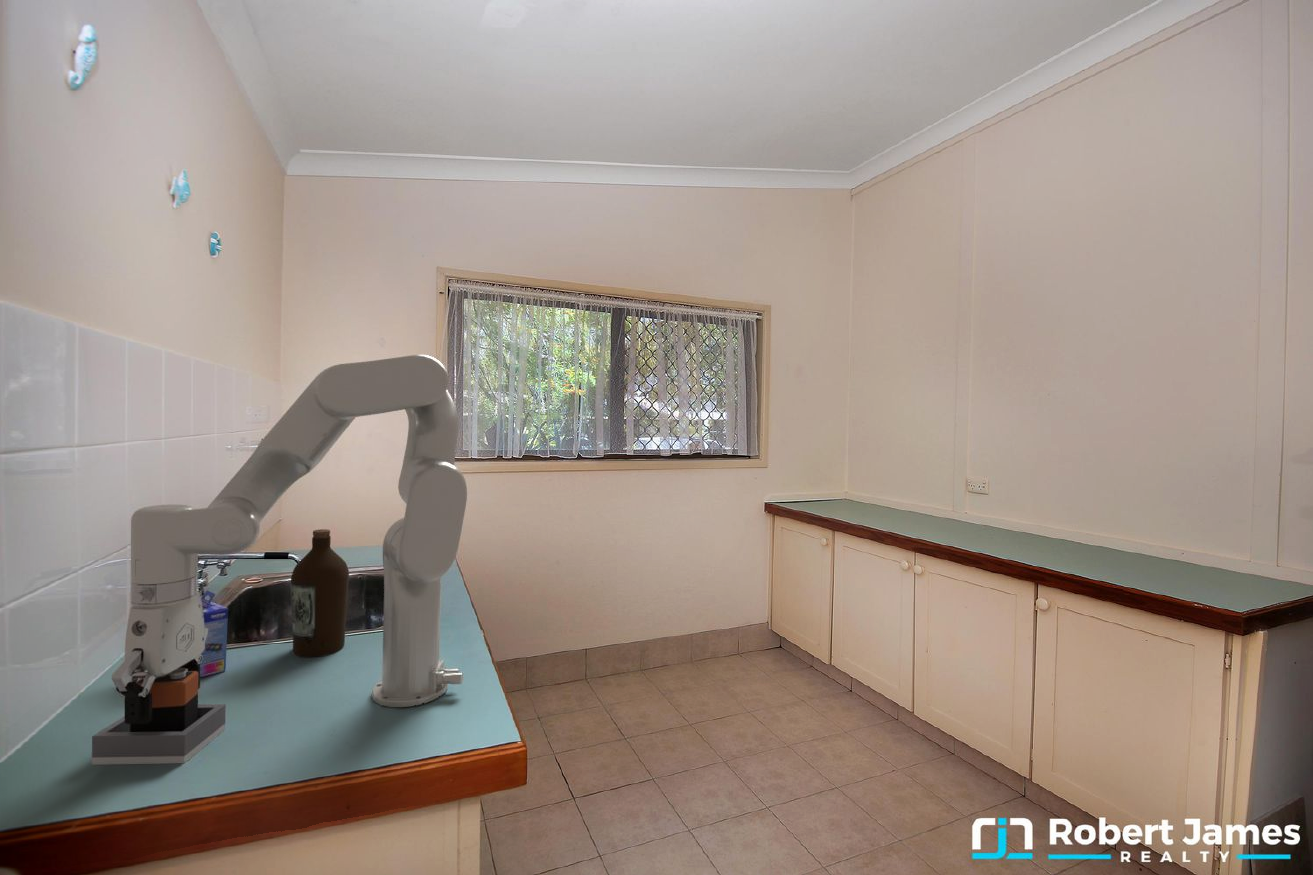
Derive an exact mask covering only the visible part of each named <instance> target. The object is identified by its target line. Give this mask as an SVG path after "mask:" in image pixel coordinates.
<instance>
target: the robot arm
mask: <svg viewBox="0 0 1313 875" xmlns="http://www.w3.org/2000/svg"><path fill="white" fill-rule="evenodd" d="M449 382H450V379H449V373H448V370H447V369H446V367H445V365H443V363H442V362H440V361H439V360H438V359H436V358H434V357H433V356H431V355H430V356H429V355H427V354H413V355H406V356H399V357H391V358H390V357H389V358H384V359H376V360H369V361H359V362H348V363H347V362H346V363H339V364H334V365H332V366H329V367H327V368H325V369H323V370H321V372H320V373H319V374H317V375H316V376H315V378H314V379H313V380H312V381H311V382H310V383H309V384H308V386H307V387H306V388H305V389H304V390H303V391H302V393H301V394H300V395H299V396H298V397H297V399H296V400H295V401H294V402H293V403H292V405H291V406H290V407H289V408H288V409H287V411H285V413H284V414H283V415H282V416H281V418H280V419H279V420H278V421H277V422H276V423H275V425H273V427H271V429H270V430H269V431H268V433H267V434H266V435H265V436H264V437H263V438H262V440H261V441H260V442H259V443H258V445H257V447H256V448H255V450H254V451H253V453H252V454H251V456H250V457H249V458H248V459H247V460H246V461H245V463H244V464H242V466H241V467H240V469H239V470H238V471H236V473H235V475H234V476H233V477H232V478H231V479H230V480H229V482H228V483H227V484H225V486H224V487H223V488H222V490H220V492H219V493H218V494H217V496H216V497H215V498H214V499H213V500H212V501H211V503H210V504H209V505H208V506H207V507H203V508H194V506H191V505H187V504H160V505H159V504H158V505H150V506H144V507H141V508H139V509H136V510H135V511H134V512H133V514H132V515H131V519H130V606H131V607H130V609H129V613H128V619H127V625H126V632H125V639H124V640H125V641H124V659H123V660H124V661H123V662H122V663H121V664H120V665H119V667H118V668H117V669H116V670H115V671H114V672H113V673H112V675H111V681H112V682H113V684H114V686H115V691H116V692H117V693H119V694H120V697H121V698H124V716H125V723H126V724H147V723H149V722H150V721H152V693H148V692H149V690H150V688H151V686H152V684H153V682H154V680H155V677H163V676H166V675H168V674H169V673H171V672H173V671H175V670H176V669H179V668H185V669H188V671H197V672H198V690H200V688H201V678H200V664H198V663H201V662H202V659H203V656H202V655H201V654H202V652H203V651H204V649H205V646H206V645H205V641H206V638H207V634H208V629H207V628H204V615H203V607H202V602H201V598H202V597H201V595H200V592H199V591H198V589H199V588H198V571H199V570H198V569H199V568H198V566H199V559H198V558H199V555H215V556H226V555H235V554H238V553H241V552H244V551H245V550H247V549H249V548H250V547H251V546H252V545H253V544H254V543H255V542H256V541H257V539H258V537H259V534H260V526H261V525H260V523H261V522H262V521H263V519H264V518H265V516H266V515H268V513H269V512H270V511H271V509H272V508H273V506H275V504H276V503H277V501H278V500H279V499H280V498H282V496H283V494H285V493H286V492H287V490H288V489H290V488H291V487H292V485H293V484H295V482H297V481H298V480H299V479H300V478H303V477H305V476H306V475H307V474H309V473H311V471H312V470H314V469H315V468H316V467H317V466H318V465H319V464H320V463H321V461H322V460H323V459H324V458H325V456H326V455H327V453H328V452H329V451H330V450H331V448H332V447H333V446H334V444H336V442H337V441H338V440H339V438H340V437H341V436H342V435H343V434H344V432H345V431H346V430H347V429H348V427H350V425H351V424H352V423H353V421H355V419H356V418H359V417H365V416H372V415H380V414H385V413H386V414H387V413H391V412H397V411H398V412H399V411H403V410H405V412H406V415H407V421H408V428H407V429H408V430H407V438H406V444H405V446H406V447H405V451H404V457H403V460H402V467H401V470H400V471H401V472H400V475H399V479H398V485H397V488H398V494H399V496H400V498H401V499H402V501H403V502H404V503H405V504H406V506H405V511H404V517H402V518H400V519H398V520H397V521H395V522H394V523H393V524H392V525H391V526H390V527H389V528H388V530H387V531H386V533H385V535H384V537H383V538H384V539H383V543H382V567H383V585H384V586H383V589H384V590H383V592H384V593H383V596H384V597H383V623H382V624H383V630H382V632H383V633H382V670H381V671H382V673H381V674H382V675H381V676H382V677H381V680H380V681H378V682H377V683H376V684H375V685H374V686H373V687H372V689H371V698H372V700H373V701H374V702H375V703H376V704H378V705H381V706H383V707H384V706H385V707H389V708H409V707H410V708H411V707H416V706H420V705H423V704H422V703H424V704H427V703H430V702H431V701H434V700H437V699H438V698H440V697H441V696H443V694H445V692H446V691H447V690H446V689H448V685H462V684H463V680H464V673H462V672H460V669H459V668H447V667H444V666H445V660H444V659H441V660H440V653H441V652H440V650H441V649H440V648H441V644H440V643H441V615H442V614H441V612H442V607H441V606H442V577H443V576H445V575H446V574H447V573H448V572H449V571H450V569H451V568H452V566H453V565H454V562H455V560H456V558H457V554H458V549H459V545H460V539H461V534H462V530H463V524H464V518H465V512H466V505H467V502H468V501H467V500H468V488H467V483H466V478H465V476H464V474H463V472H461V470H460V469H459V468H458V467H456V466H455V459H456V454H457V447H458V446H457V444H458V437H459V426H460V425H459V423H460V422H459V414H458V410H457V407H456V405H455V402H454V400H453V399H454V398H452V396H451V394H450V391H448V388H449V384H450V383H449ZM142 678H145V679H144V681H143V684H142V686H140V685H139V684H137V683H136V682H137V681H139V679H142ZM439 696H440V697H439ZM415 705H416V706H415Z"/></svg>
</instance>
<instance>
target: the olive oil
mask: <svg viewBox="0 0 1313 875" xmlns="http://www.w3.org/2000/svg"><path fill="white" fill-rule="evenodd" d="M330 534H331V530H330V529H326V528H325V529H314V530H313V531H312V538H311V543H312V544H311V549H310V551H309V552H307V553H306V555H305V556H304V557H302V559H300V560H299V562H297V564H296V565H295V567H294V568H293V571H292V573H291V576H290V577H291V578H290V593H291V594H290V595H291V596H290V597H291V615H292V616H291V619H292V620H291V621H292V652H293V654H294V655H295V656H298V657H304V658H316V657H322V656H326V655H327V656H328V655H331V654H334V653H337V652H339V651H340V650H341V649H343V648H344V647H345V639H346V625H347V624H346V620H347V610H348V609H347V608H348V596H349V595H348V594H349V585H350V584H349V583H350V582H349V581H350V571H349V567H348V565H347V564H348V563H347V562H346V561H345V560H344V559H343V558H342V557H341V556H340V555H339V554H337V553H336V551H334V550H333V549H332V548H331V541H332V540H331V535H330Z"/></svg>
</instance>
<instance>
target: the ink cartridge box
mask: <svg viewBox="0 0 1313 875" xmlns="http://www.w3.org/2000/svg"><path fill="white" fill-rule="evenodd" d="M215 595H216V593H215V592H211V591H210V590H205V592H204V594H203V595H202V597H200V598H201V602H202V607H203V615H204V628H207V629H208V634H207V638H206V641H205V645H206V646H205V649H204V651H203V652H202V654H201V655H202V656H203V659H202V662H201V663H198V664H200V679H201V678H203V677H207V676H212V675H215V674H218V673H223V672H226V671H227V669H226V668H227V667H226V666H227V646H228V645H227V642H228V641H227V638H228V619H229V618H228V617H229V607H227V606H223V605H222V604H218V603H216V602H213V599H214V598H215ZM207 596H209V599H207V598H206V597H207Z"/></svg>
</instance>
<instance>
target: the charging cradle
mask: <svg viewBox="0 0 1313 875" xmlns="http://www.w3.org/2000/svg"><path fill="white" fill-rule="evenodd" d="M226 709H227V708H226V704H225V703H222V704H217V703H215V704H214V703H213V704H211V703H210V704H209V703H208V704H205V703H204V704H203V703H202V704H199V703H198V720H197V721H196V722H194V723H193V724H192V725H190V726H189V727H188V728H186V729H185V730H184V731H182V732H130V724H126V723H125V715H124V716H123V717H120V718H119V719H117V720H116V721H115V722H112V723H111V724H109V725H108V726H106V727H104V728H103V729H102V730H100V731H98V732H97V733H95V734H94V735H92V736H91V738H92V739H91V765H94V766H95V765H99V766H100V765H149V764H150V765H151V764H155V765H157V764H158V765H159V764H186V763H187V762H188V761H189V760H190V759H191V758H193V757H194V756H195V755H197V754H198V753H199V752H200V751H201V750H202V749H204V747H206V746H207V745H208V744H210V743H211V742H212V741H213V740H214V739H216V738H217V737H219V735H221V734H222V733H223V732H224V731H225V730H226V716H227V715H226V712H227V710H226Z"/></svg>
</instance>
